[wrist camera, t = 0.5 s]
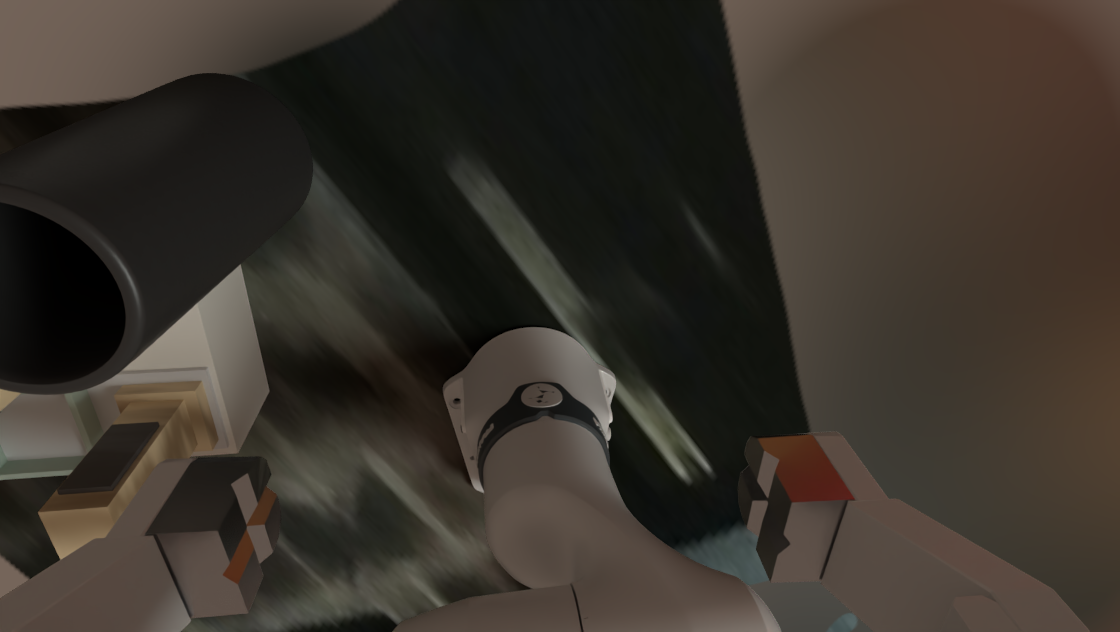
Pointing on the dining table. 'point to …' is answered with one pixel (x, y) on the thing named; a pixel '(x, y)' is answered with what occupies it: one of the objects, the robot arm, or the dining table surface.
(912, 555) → the robot arm
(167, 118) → the vase
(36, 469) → the grey boxy piece
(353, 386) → the dining table surface
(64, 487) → the block
